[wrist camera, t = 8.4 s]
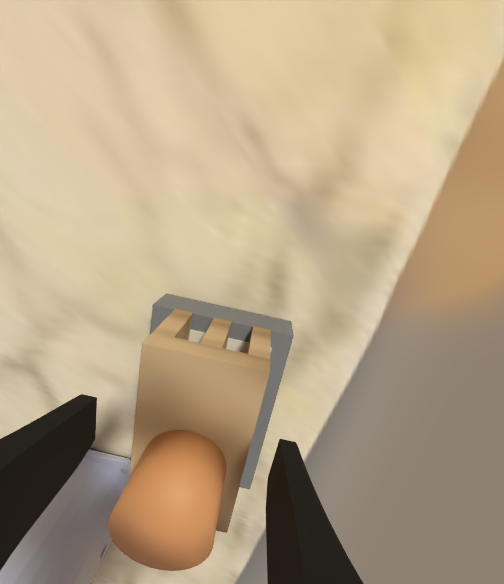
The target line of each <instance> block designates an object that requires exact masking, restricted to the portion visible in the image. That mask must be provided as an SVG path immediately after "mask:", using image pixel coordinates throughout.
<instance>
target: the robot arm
mask: <svg viewBox="0 0 504 584" xmlns="http://www.w3.org/2000/svg"><path fill="white" fill-rule="evenodd" d="M96 405H97V398H96V397H91V396H87V395H82V394H81V395H79V396H77V397H76V398H74V399H72V400H70V401H68V402H67V403H65V404H63V405H61V406H60V407H58V408H56V409H54V410H53V411H51V412H49V413H47V414H46V415H44V416H42V417H40V418H39V419H37V420H35V421H33V422H31V423H30V424H28V425H26V426H24V427H22V428H20V429H19V430H17V431H15V432H13V433H11V434H9V435H7V436H5V437H3V438H1V439H0V584H91V582H92V580H93V578H94V576H95V574H96V572H97V570H98V568H99V566H100V564H101V562H102V560H103V558H104V555H105V553H106V551H107V549H108V547H109V545H110V543H111V541H113V540H112V538H111V536H110V533H109V528H108V522H109V518H110V515H111V513H112V511H113V509H114V507H115V505H116V504H117V502H118V500H119V498H120V496H121V494H122V492H123V490H124V488H125V487H126V485H127V483H128V481H129V477H130V466H131V460H130V459H128V458H125V457H120V456H116V455H112V454H107V453H103V452H99V451H94V450H90V449H89V448H90V447H91V445H92V443H93V442H94V440H95V430H96ZM266 533H267V534H266V535H267V536H266V537H267V572H268V584H363V582H362V580H361V579H360V577H359V576H358V574H357V572H356V570H355V568H354V567H353V565H352V564H351V561H350V560H349V558H348V556H347V554H346V552H345V551H344V549H343V547H342V545H341V543H340V541H339V539H338V537H337V535H336V533H335V531H334V529H333V528H332V525H331V524H330V522H329V520H328V518H327V515H326V513H325V511H324V509H323V507H322V505H321V502H320V500H319V498H318V496H317V493H316V491H315V489H314V487H313V485H312V482H311V480H310V477H309V475H308V473H307V470H306V467H305V465H304V462H303V459H302V457H301V454H300V451H299V448H298V446H297V444H296V442H292V441H287V440H283V439H280V440H279V443H278V447H277V450H276V453H275V456H274V460H273V463H272V466H271V469H270V473H269V476H268V484H267V499H266Z"/></svg>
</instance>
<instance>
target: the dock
mask: <svg viewBox="0 0 504 584" xmlns="http://www.w3.org/2000/svg"><path fill="white" fill-rule="evenodd" d="M174 309H179V310H183V311H188V312H192V313H193V315H192V322H191V328H190V335H189V341H192V342H197V343H201V341H202V339H203V337H204V335H205V333H206V332H207V330H208V328H209V326H210V324H211V322H212V320H213V319H214V317H215V318H219V319H224V320H228V321H232V323H231V328H230V333H229V338H228V343H227V348H226V349H228V350H232V351H237V352H241V353H246V354H247V350H248V346H249V342H250V337H251V333H252V329H253V326H255V327H259V328H264V329H268V330H271V348H270V374H269V378H268V381H267V385H266V389H265V393H264V396H263V400H262V404H261V408H260V411H259V415H258V419H257V422H256V426H255V430H254V434H253V437H252V441H251V445H250V449H249V452H248V456H247V460H246V464H245V467H244V471H243V475H242V478H241V482H240V486H239V487H242V488H246V489H250V487H251V484H252V480H253V477H254V473H255V470H256V466H257V463H258V459H259V455H260V452H261V448H262V445H263V441H264V438H265V434H266V431H267V427H268V424H269V420H270V417H271V413H272V410H273V406H274V403H275V399H276V396H277V392H278V389H279V385H280V382H281V378H282V375H283V371H284V367H285V364H286V360H287V357H288V353H289V350H290V346H291V343H292V339H293V330H292V323H291V321H287V320H282V319H278V318H273V317H269V316H264V315H260V314H255V313H251V312H246V311H242V310H237V309H233V308H228V307H224V306H219V305H215V304H210V303H206V302H201V301H197V300H192V299H188V298H183V297H179V296H174V295H170V294H165V295H164V296H163V297H162V298H160V299H159V300H158V301H157V302H156V303H154V304H153V310H152V319H151V329H150V334H151V333H152V332H153V331H154V330H155V329H156V328H157V327H158V326H159V325H160V324H161V323H162V322H163V321H164V320H165V319H166V318H167V317H168V316H169V315H170V314H171V313H172V312H173V310H174Z"/></svg>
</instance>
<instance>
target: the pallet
mask: <svg viewBox="0 0 504 584" xmlns="http://www.w3.org/2000/svg"><path fill="white" fill-rule="evenodd" d="M192 315H193V313H192V312H188V311H183V310H179V309H174V310H173V312H172V313H171V314H170V315H169V316H168V317H167V318H166V319H165V320H164V321H163V322H162V323H161V324H160V325H159V326H158V327H157V328H156V329H155V330H154V331H153V332H152V333H151V334H150V335H149V336H148V337H147V338H146V340H145V341H144V342H143V343H142V349H141V360H140V370H139V381H138V392H137V402H136V413H135V424H134V434H133V445H132V456H131V466H130V477H131V475H132V473H133V471H134V470H135V468H136V466H137V464H138V462H139V460H140V458H141V456H142V454H143V453H144V451H145V449H146V447H147V445H148V444H149V442H150V441H151V440H152V439H153V438H154V437H156V436H157V435H159V434H161V433H163V432H166V431H171V430H187V431H192V432H196V433H198V434H201V435H203V436H205V437H207V438H208V439H210V440H211V441H213V442H214V443H215V444H216V445H217V446H218V447H219V448H220V450H221V451H222V453H223V455H224V457H225V460H226V465H227V470H226V475H225V481H224V487H223V492H222V498H221V503H220V509H219V515H218V520H217V526H216V530H217V531H221V532H226V533H227V531H228V527H229V523H230V519H231V516H232V512H233V508H234V505H235V501H236V497H237V493H238V490H239V486H240V482H241V478H242V475H243V471H244V467H245V464H246V460H247V456H248V452H249V449H250V445H251V441H252V437H253V434H254V430H255V426H256V422H257V419H258V415H259V411H260V408H261V404H262V400H263V396H264V393H265V389H266V385H267V381H268V378H269V374H270V348H271V330H268V329H264V328H259V327H255V326H253V329H252V333H251V337H250V342H249V346H248V350H247V354H246V353H241V352H237V351H232V350H228V349H226V348H227V343H228V338H229V333H230V328H231V323H232V321H228V320H224V319H219V318H215V317H214V319H213V320H212V322H211V324H210V326H209V328H208V330H207V332H206V333H205V335H204V337H203V339H202V341H201V343H197V342H192V341H189V335H190V328H191V322H192ZM130 477H129V479H130Z"/></svg>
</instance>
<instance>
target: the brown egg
mask: <svg viewBox="0 0 504 584" xmlns="http://www.w3.org/2000/svg"><path fill="white" fill-rule="evenodd" d="M226 470H227V465H226V460H225V457H224V455H223V453H222V451H221V450H220V448H219V447H218V446H217V445H216V444H215V443H214V442H213V441H211V440H210V439H208V438H207V437H205V436H203V435H201V434H198V433H196V432H192V431H187V430H171V431H166V432H163V433H161V434H159V435H157V436H156V437H154V438H153V439H152V440H151V441H150V442H149V444H148V445H147V447H146V449H145V451H144V453H143V454H142V456H141V458H140V460H139V462H138V464H137V466H136V468H135V470H134V471H133V473H132V475H131V477H130V479H129V481H128V483H127V485H126V487H125V488H124V490H123V492H122V494H121V496H120V498H119V500H118V502H117V504H116V505H115V507H114V509H113V511H112V513H111V515H110V518H109V522H108V528H109V533H110V536H111V538H112V540H113V542H114V543H115V544H116V546H117V547H118V548H119V549H120V550H121V551H122V552H123V553H124V554H125V555H127V556H128V557H130V558H131V559H133V560H134V561H136V562H138V563H140V564H143V565H145V566H148V567H151V568H155V569H160V570H169V571H176V570H185V569H189V568H192V567H195V566H197V565H199V564H200V563H202V562H203V561H204V560H206V558H207V557H208V556H209V555H210V553H211V551H212V548H213V543H214V537H215V531H216V526H217V520H218V515H219V509H220V503H221V498H222V492H223V487H224V481H225V475H226Z"/></svg>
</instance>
